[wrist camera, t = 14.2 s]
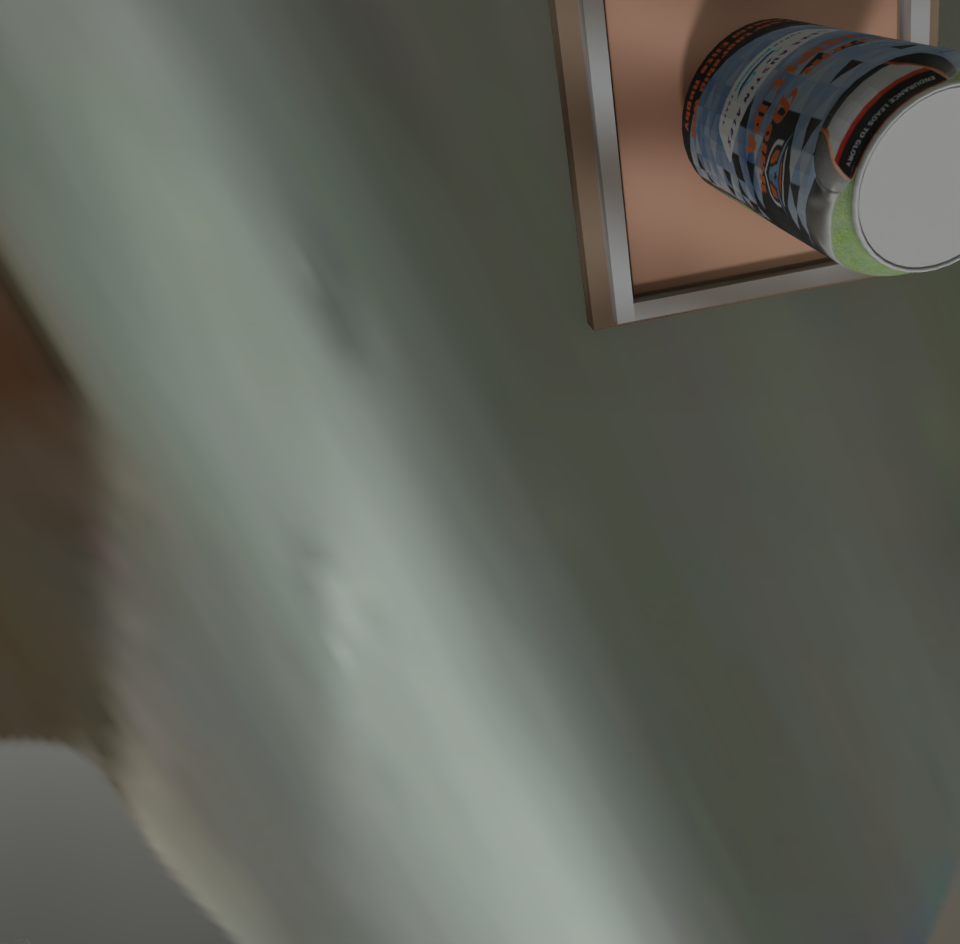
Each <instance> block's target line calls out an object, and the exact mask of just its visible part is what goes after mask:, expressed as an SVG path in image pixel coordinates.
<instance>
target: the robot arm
mask: <svg viewBox="0 0 960 944" xmlns="http://www.w3.org/2000/svg"><path fill="white" fill-rule="evenodd" d="M2 944H31V943H30V941H29V940H28V938H23V939H19V940H14V941H10V942H6V943H2Z"/></svg>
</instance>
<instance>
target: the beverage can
mask: <svg viewBox="0 0 960 944" xmlns="http://www.w3.org/2000/svg"><path fill="white" fill-rule="evenodd" d="M682 135H683V142H684V147H685V150H686V153H687V156H688V159H689V161H690V162H691V164H692V166H693V168H694V170H695V171H696V172H697V173H698V175H699V176H700V177H701V178H702V179H703V180H704V181H705V182H706V183H708V184H709V185H710V186H712V187H713V188H714V189H716V190H718V191H719V192H721V193H723V194H724V195H726V196H727V197H729V198H731V199H732V200H734V201H736V202H737V203H739V204H741V205H742V206H744V207H746V208H747V209H749V210H751V211H752V212H754V213H756V214H757V215H759V216H760V217H762V218H764V219H765V220H767V221H769V222H770V223H772V224H774V225H775V226H777V227H779V228H780V229H782V230H784V231H785V232H787V233H789V234H790V235H792V236H793V237H795V238H797V239H798V240H800V241H802V242H803V243H805V244H807V245H808V246H810V247H812V248H813V249H815V250H817V251H818V252H820V253H822V254H823V255H825V256H826V257H828V258H830V259H831V260H833V261H835V262H836V263H838V264H840V265H842V266H844V267H846V268H848V269H850V270H852V271H855V272H858V273H863V274H867V275H872V276H895V275H901V274H907V273H912V272H925V271H931V270H936V269H939V268H942V267H945V266H948V265H950V264H952V263H954V262H956V261H958V260H960V52H959V51H956V50H952V49H947V48H941V47H936V46H930V45H925V44H920V43H914V42H909V41H904V40H898V39H893V38H887V37H882V36H877V35H871V34H866V33H860V32H855V31H850V30H844V29H839V28H834V27H828V26H823V25H817V24H812V23H807V22H801V21H796V20H790V19H779V18H773V19H765V20H759V21H756V22H753V23H750V24H747V25H745V26H743V27H741V28H739V29H738V30H736V31H734V32H732V33H731V34H729V35H728V36H727V37H726V38H724V39H723V40H722V41H720V42H719V43H718V44H717V45H716V46H715V47H714V48H713V49H712V51H711V52H710V53H709V54H708V55H707V56H706V58H705V59H704V60H703V62H702V63H701V65H700V66H699V68H698V69H697V71H696V73H695V75H694V77H693V79H692V81H691V83H690V86H689V89H688V92H687V95H686V98H685V102H684V107H683V113H682Z"/></svg>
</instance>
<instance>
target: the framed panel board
mask: <svg viewBox="0 0 960 944" xmlns="http://www.w3.org/2000/svg"><path fill="white" fill-rule="evenodd" d="M549 8H550V17H551V25H552V33H553V41H554V49H555V58H556V66H557V74H558V82H559V91H560V99H561V107H562V115H563V124H564V132H565V140H566V148H567V156H568V165H569V173H570V181H571V189H572V198H573V206H574V214H575V222H576V231H577V239H578V247H579V255H580V263H581V272H582V280H583V288H584V296H585V305H586V313H587V321H588V324H589V325H590V327H591V328H592V329H593V330H594V331H595V330H600V329H605V328H610V327H616V326H621V325H626V324H631V323H636V322H642V321H647V320H652V319H657V318H662V317H668V316H673V315H678V314H683V313H688V312H694V311H699V310H704V309H709V308H714V307H720V306H725V305H730V304H735V303H740V302H746V301H751V300H756V299H761V298H767V297H772V296H777V295H782V294H787V293H793V292H798V291H803V290H808V289H813V288H819V287H824V286H829V285H834V284H839V283H845V282H850V281H855V280H860V279H865V278H871V277H876V276H872V275H867V274H863V273H858V272H855V271H852V270H850V269H848V268H846V267H844V266H842V265H840V264H838V263H836V262H835V261H833V260H831V259H830V258H828V257H826V256H825V255H823V254H822V253H820V252H818V251H817V250H815V249H813V248H812V247H810V246H808V245H807V244H805V243H803V242H802V241H800V240H798V239H797V238H795V237H793V236H792V235H790V234H789V233H787V232H785V231H784V230H782V229H780V228H779V227H777V226H775V225H774V224H772V223H770V222H769V221H767V220H765V219H764V218H762V217H760V216H759V215H757V214H756V213H754V212H752V211H751V210H749V209H747V208H746V207H744V206H742V205H741V204H739V203H737V202H736V201H734V200H732V199H731V198H729V197H727V196H726V195H724V194H723V193H721V192H719V191H718V190H716V189H714V188H713V187H712V186H710V185H709V184H708V183H706V182H705V181H704V180H703V179H702V178H701V177H700V176H699V175H698V173H697V172H696V171H695V170H694V168H693V166H692V164H691V162H690V161H689V159H688V156H687V153H686V150H685V147H684V142H683V135H682V113H683V107H684V102H685V98H686V95H687V92H688V89H689V86H690V83H691V81H692V79H693V77H694V75H695V73H696V71H697V69H698V68H699V66H700V65H701V63H702V62H703V60H704V59H705V58H706V56H707V55H708V54H709V53H710V52H711V51H712V49H713V48H714V47H715V46H716V45H717V44H718V43H719V42H720V41H722V40H723V39H724V38H726V37H727V36H728V35H729V34H731V33H732V32H734V31H736V30H738V29H739V28H741V27H743V26H745V25H747V24H750V23H753V22H756V21H759V20H765V19H773V18H779V19H790V20H796V21H801V22H807V23H812V24H817V25H823V26H828V27H834V28H839V29H844V30H850V31H855V32H860V33H866V34H871V35H877V36H882V37H887V38H893V39H898V40H904V41H909V42H914V43H920V44H925V45H930V46H936V47H938V27H939V0H549Z"/></svg>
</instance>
